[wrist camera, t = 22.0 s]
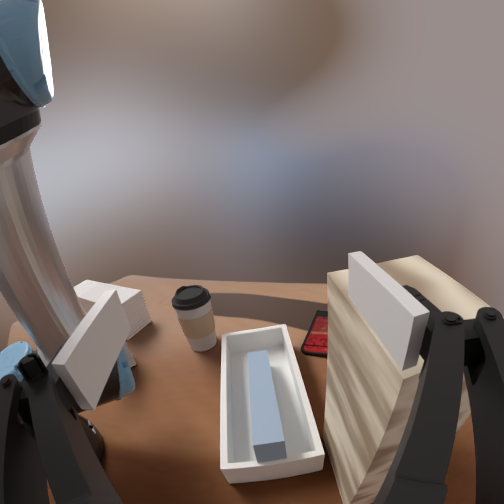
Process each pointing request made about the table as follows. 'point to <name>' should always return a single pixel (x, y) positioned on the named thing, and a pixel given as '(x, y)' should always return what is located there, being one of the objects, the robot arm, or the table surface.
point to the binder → (317, 336)
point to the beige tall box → (376, 379)
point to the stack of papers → (128, 298)
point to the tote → (289, 404)
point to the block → (264, 410)
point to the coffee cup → (195, 316)
